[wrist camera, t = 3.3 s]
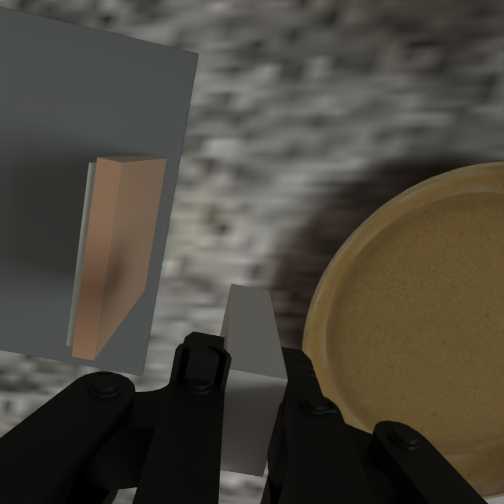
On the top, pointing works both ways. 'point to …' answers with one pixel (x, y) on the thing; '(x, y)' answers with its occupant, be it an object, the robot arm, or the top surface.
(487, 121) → the top surface
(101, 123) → the mat
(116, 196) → the tile
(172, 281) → the top surface
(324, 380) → the plant saucer
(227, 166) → the top surface
